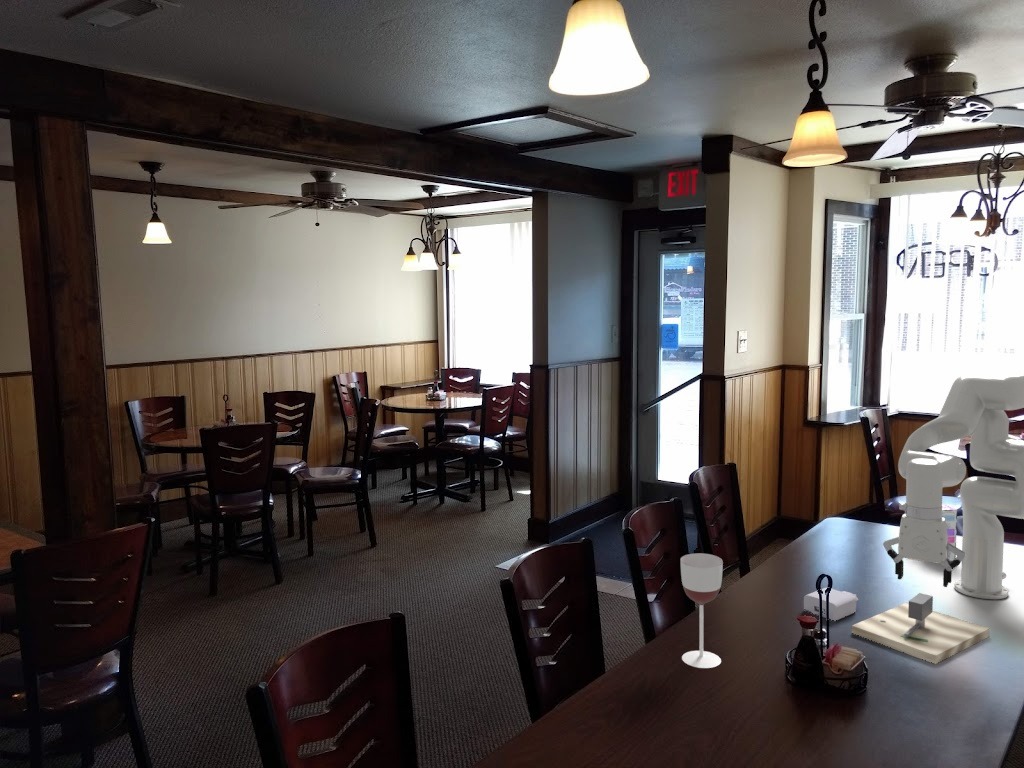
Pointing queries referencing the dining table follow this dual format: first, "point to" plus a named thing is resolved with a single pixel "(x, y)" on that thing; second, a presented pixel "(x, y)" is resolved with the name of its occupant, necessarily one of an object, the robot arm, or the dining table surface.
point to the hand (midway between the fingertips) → (922, 581)
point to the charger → (832, 603)
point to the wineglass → (701, 598)
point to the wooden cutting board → (921, 633)
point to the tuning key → (919, 611)
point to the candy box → (950, 527)
